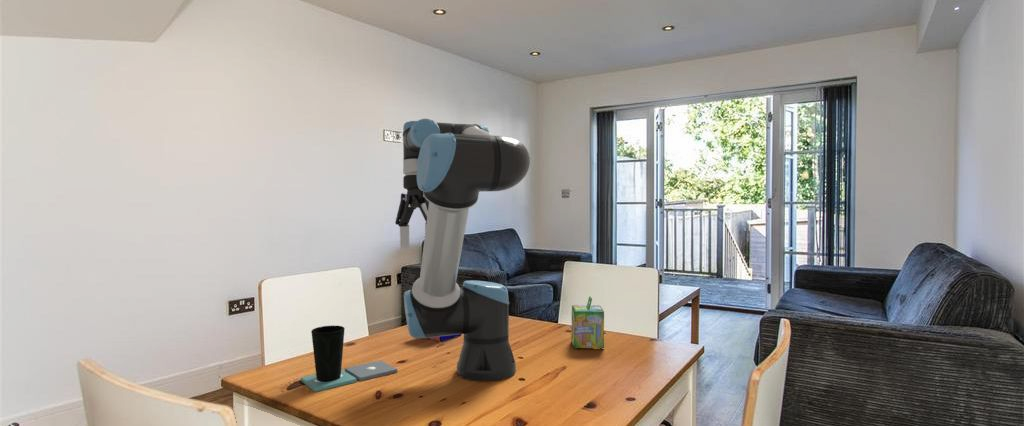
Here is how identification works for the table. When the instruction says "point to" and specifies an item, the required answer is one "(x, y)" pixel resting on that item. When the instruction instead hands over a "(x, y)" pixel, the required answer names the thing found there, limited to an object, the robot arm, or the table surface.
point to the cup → (328, 352)
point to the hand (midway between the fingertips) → (416, 248)
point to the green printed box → (587, 326)
